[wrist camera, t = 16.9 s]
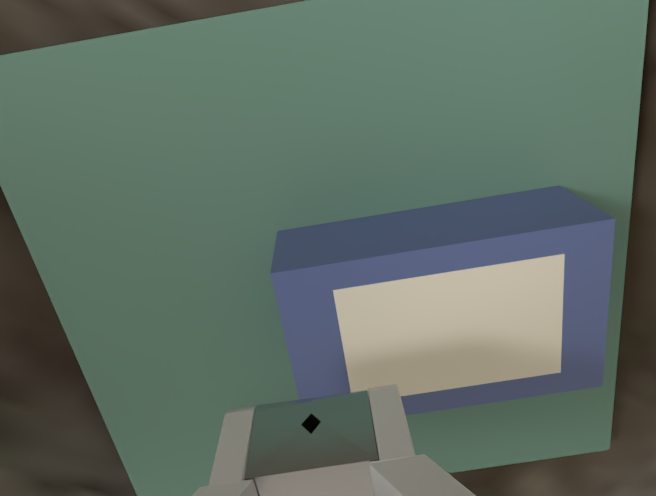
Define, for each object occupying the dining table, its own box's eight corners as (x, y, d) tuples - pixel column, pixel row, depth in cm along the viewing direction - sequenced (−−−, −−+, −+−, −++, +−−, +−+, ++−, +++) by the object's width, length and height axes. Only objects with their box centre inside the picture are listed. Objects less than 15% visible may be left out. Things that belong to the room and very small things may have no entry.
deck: (270, 274, 10) (616, 218, 10) (277, 230, 12) (559, 185, 12) (306, 431, 12) (602, 386, 11) (307, 367, 14) (554, 329, 14)
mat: (150, 506, 16) (146, 517, 16) (-41, 64, 11) (-53, 64, 11) (602, 440, 16) (609, 449, 16) (642, -59, 10) (654, -63, 10)
